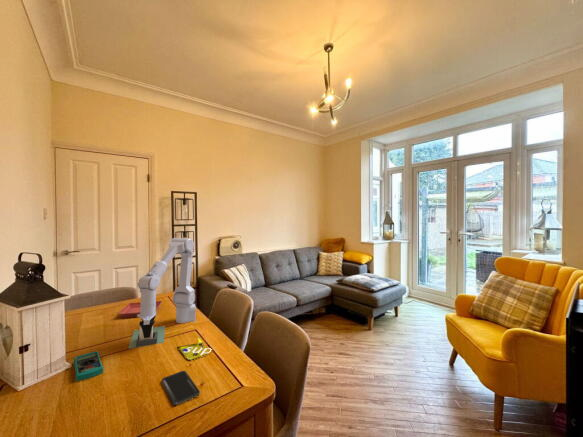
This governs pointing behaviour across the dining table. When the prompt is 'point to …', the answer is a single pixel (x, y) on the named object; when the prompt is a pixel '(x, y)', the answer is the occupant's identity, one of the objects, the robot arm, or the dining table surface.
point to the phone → (180, 387)
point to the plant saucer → (134, 309)
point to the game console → (194, 350)
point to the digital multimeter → (87, 365)
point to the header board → (157, 338)
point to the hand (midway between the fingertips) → (147, 335)
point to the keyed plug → (143, 336)
